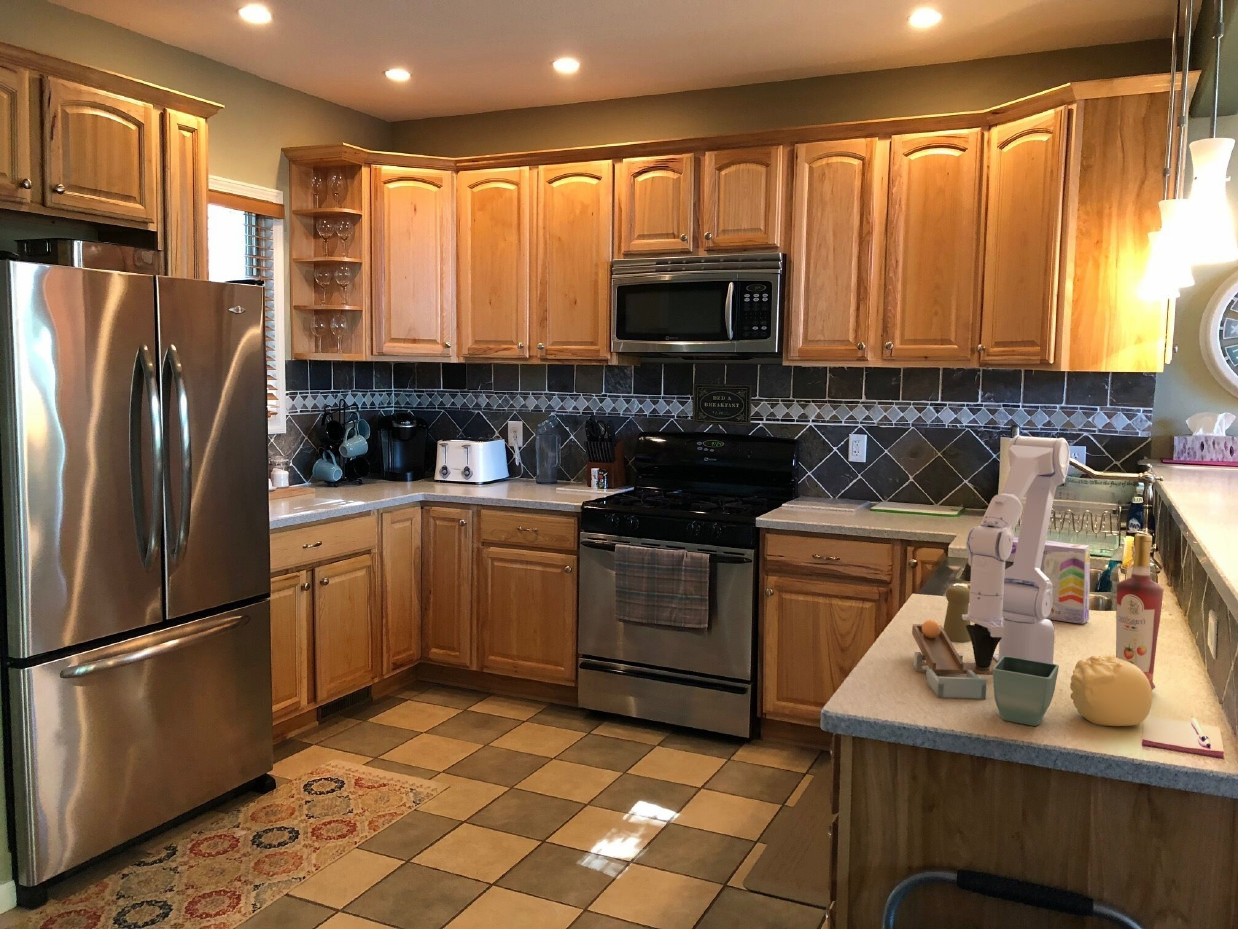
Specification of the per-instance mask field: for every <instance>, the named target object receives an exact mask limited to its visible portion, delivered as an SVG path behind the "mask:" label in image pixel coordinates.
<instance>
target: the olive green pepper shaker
mask: <svg viewBox="0 0 1238 929" xmlns="http://www.w3.org/2000/svg"><path fill="white" fill-rule="evenodd" d="M945 598H946V600H947V607H946V612H945V617H944V623H943V626H942V627H943V629H944V631H945V633H946V634H947V636H948V638H949V639H950V641H951V642H953V643H954V642H955V643H969V642H971V638H970V635H969V633H968V631H967V629H966V625H972V624H971V621H966V620H963V619H962V615H963V614H968V607H969V601H970V588H968V587H965V586H961V585H960V586H958V585H957V586H950V587H948V588H947V589H946V591H945Z"/></svg>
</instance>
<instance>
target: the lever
mask: <svg viewBox="0 0 1238 929" xmlns="http://www.w3.org/2000/svg"><path fill="white" fill-rule="evenodd" d="M922 625H923V623H922V624H921V623H920V624H919V623H918V624H917V623H913V624H912V626H911V627H912V631H911V634H912V637H913V638H914V641H915V642H916V644H917V646H918V648H919V651H920V652H921V654H922V655H923V656H922V662H923V661H925V662H926V664H927V666H929V668H930V669H932V670H933V672H934V673H935V674H946V675H947V674H954V675H955V674H956V675H967V670H972V671H973V672H974V673H975V674H976V675H977V676H978V675H980V676H981V675H983V676H987V675H988V676H993V672H992V668H993V667H994V666H993V665H992V663H991V664H990V667H978V666H977V665H976V663H975V662H964V661H962V660H961V658H960V657H959V655H958V653H959V652H958V651H957V650H956V648H955V647H954V645H953V643H952V641H950V639H949V638H948V636H947V634H946V633H945V631H944V629H943V627H944V626H942V624H939V625H940V628H941V631H940V634H939V635H938V636H937V637H935V638H928V637H926V636H925V635H924V634H923V632H922Z"/></svg>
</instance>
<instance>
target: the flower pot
mask: <svg viewBox="0 0 1238 929" xmlns="http://www.w3.org/2000/svg"><path fill="white" fill-rule="evenodd" d="M1059 667H1060V665H1059V664H1056V663H1053V664H1052V663H1046V662H1039V661H1033V660H1027V659H1022V658H1016V657H1010V656H1002V657H1001V658H1000V660H999V661H998V662H996V664H995V665H994V666H993V668H992V672H993V675H992V684H993V686H992V687H993V696H994V701H995V704H996V708H997V710H998V712H999V714H1000V716H1001V717H1002V719H1003V720H1004V721H1007V722H1012V723H1017V724H1022V725H1026V726H1027V725H1028V726H1032V727H1036V726H1038V725H1039V724H1040V722H1041V721H1042V719H1043V717H1044V716H1045V714H1046V712H1047V710H1048V709H1049V707H1050V705H1051V703H1052V700H1053V697H1054V693H1055V690H1056V685H1057V680H1058V673H1059Z"/></svg>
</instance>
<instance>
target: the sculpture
mask: <svg viewBox="0 0 1238 929" xmlns="http://www.w3.org/2000/svg"><path fill="white" fill-rule="evenodd" d="M1070 681H1071V682H1070V686H1069V688H1070V690H1071V691H1072V692H1071V693H1070V698H1071V700H1073V701H1072V703H1073V706H1074V707H1075V708H1076V711H1077V713H1079V714H1080V715H1082V716H1083V717H1084V718H1085V719H1086V720H1087V721H1088V722H1090V723H1092V724H1096V725H1099V726H1105V727H1106V726H1109V727H1128V726H1129V727H1131V726H1136V725H1137V726H1138V725H1140V724H1141V723H1143V722H1144V721H1145V720H1146V718H1147V717H1148V715H1149V714H1150V711H1151V709H1152V704H1153V690H1152V689H1151V686H1150V683H1149V680H1148V679H1147V677H1146V675H1145V674H1144V673H1143V672H1142V671H1141V670H1140V669H1139V668H1138V667H1137V666H1135V665H1134V664H1132V663H1130V662H1128V661H1125V660H1122V659H1119V658H1117V657H1116V655H1115V654H1111V653H1110V654H1102V655H1095V656H1094V655H1092V656H1090V657H1088V658H1085V659H1079V660H1078V661H1077V662H1076V664H1075V666H1074V669H1073V671H1072V674H1071V677H1070Z"/></svg>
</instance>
